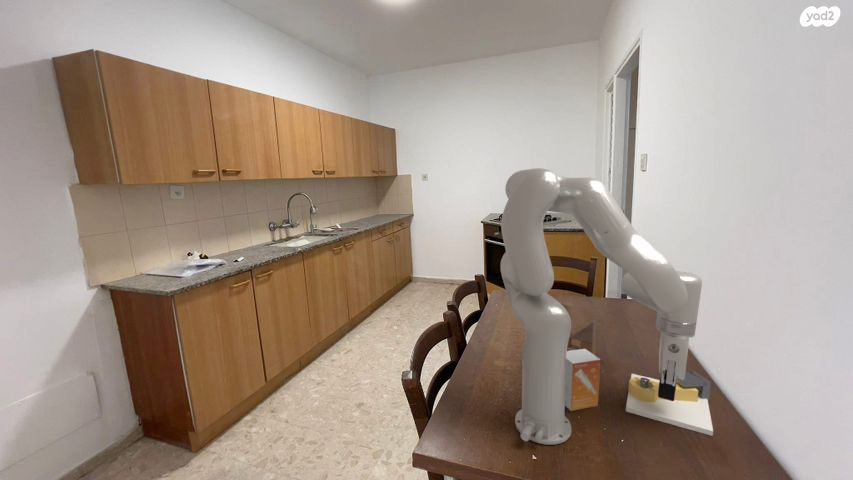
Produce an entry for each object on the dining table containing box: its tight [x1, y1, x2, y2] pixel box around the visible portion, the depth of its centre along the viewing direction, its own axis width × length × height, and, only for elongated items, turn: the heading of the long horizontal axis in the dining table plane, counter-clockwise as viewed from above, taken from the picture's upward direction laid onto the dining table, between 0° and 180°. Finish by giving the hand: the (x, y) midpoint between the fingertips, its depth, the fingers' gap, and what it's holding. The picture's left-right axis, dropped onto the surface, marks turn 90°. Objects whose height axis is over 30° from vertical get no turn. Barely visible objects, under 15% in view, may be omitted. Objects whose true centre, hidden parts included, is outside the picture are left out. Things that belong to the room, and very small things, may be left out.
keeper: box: [676, 371, 712, 404], centre depth 93 cm, size 7×5×6 cm
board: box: [625, 373, 714, 437], centre depth 92 cm, size 18×17×1 cm
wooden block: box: [560, 301, 598, 356], centre depth 114 cm, size 4×11×18 cm, turn 50°
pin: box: [640, 378, 650, 388], centre depth 92 cm, size 2×2×6 cm
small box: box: [565, 348, 601, 412], centre depth 92 cm, size 8×6×13 cm
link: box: [628, 377, 698, 402], centre depth 92 cm, size 15×6×3 cm, turn 79°
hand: (665, 397), depth 86 cm, fingers closed
